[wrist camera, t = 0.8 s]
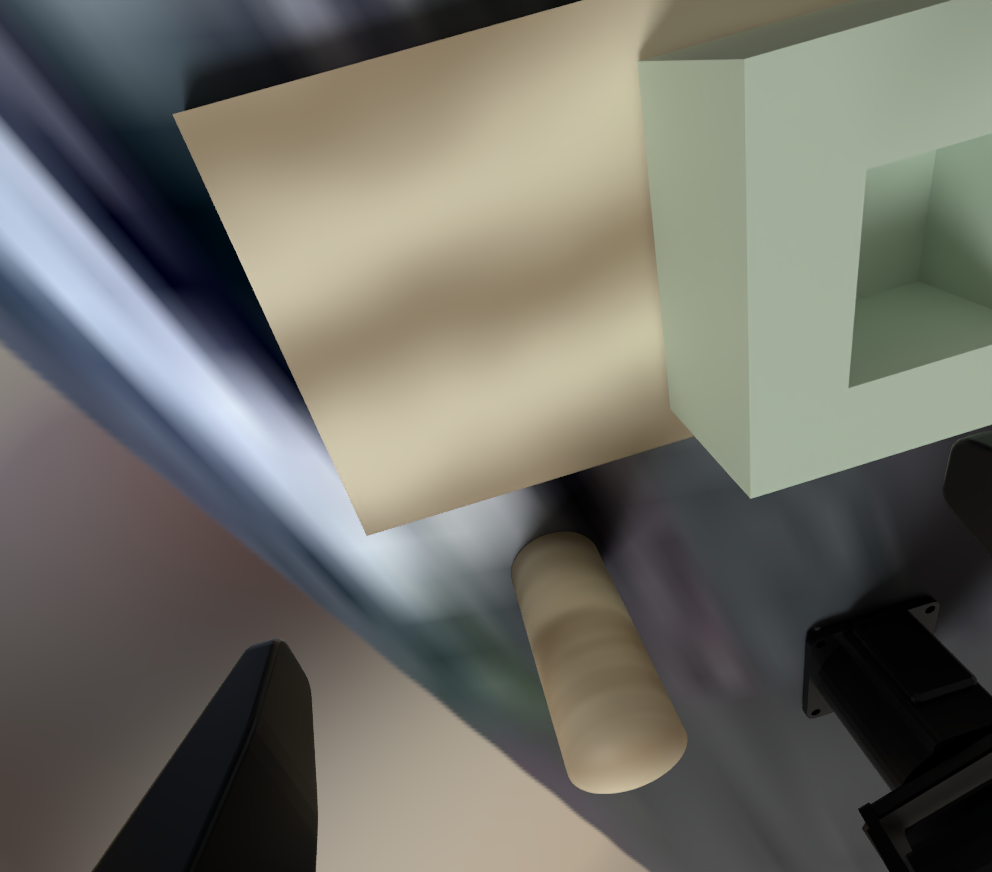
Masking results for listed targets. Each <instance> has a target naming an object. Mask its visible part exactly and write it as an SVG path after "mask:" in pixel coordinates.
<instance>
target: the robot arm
mask: <svg viewBox="0 0 992 872" xmlns="http://www.w3.org/2000/svg"><path fill="white" fill-rule="evenodd" d="M943 495H944V498H945V501H946V502H947V504H948V506H949V507H950V508H951V510H952V511H953V512H954V513H955V514H956V516H957V517H958V518H959V519H960V520H961V522H962V523H963V524H964V525H965V526H966V528H967V529H968V530H969V531H970V532H971V534H972V535H973V536H974V537H975V538H976V540H977V541H978V542H979V543H980V544H981V545H982V547H983V548H984V549H985V550H986V551H987V553H988V554H989V555H990V556H991V557H992V431H985V432H980V433H977V434H974V435H970V436H967V437H963V438H960V439H958V440H957V441H956V442H955V443H954V444H953V445H952V448H951V451H950V455H949V460H948V464H947V469H946V473H945V478H944V483H943ZM939 609H940V604H939V603H938V602H937V601H936V600H935V599H934V598H933V597H932V596H925V597H922V598H919V599H916V600H913V601H910V602H906V603H903V604H900V605H897V606H894V607H891V608H887V609H884V610H881V611H878V612H875V613H872V614H869V615H865V616H862V617H859V618H856V619H853V620H850V621H846V622H843V623H840V624H837V625H834V626H831V627H827V628H824V629H821V630H818V631H815V632H813V633H812V634H810V635H809V636H808V638H807V640H806V653H805V671H804V689H803V707H802V709H803V711H804V713H805V714H806V716H807V717H808V718H817V717H820V716H823V715H826V714H829V713H832V712H834V713H835V714H836V715H837V717H838V718H839V719H840V721H841V722H842V724H843V725H844V726H845V728H846V729H847V730H848V732H849V733H850V735H851V736H852V737H853V739H854V740H855V741H856V743H857V744H858V746H859V747H860V748H861V750H862V751H863V752H864V754H865V755H866V756H867V758H868V759H869V761H870V762H871V763H872V765H873V766H874V767H875V769H876V770H877V772H878V773H879V774H880V776H881V777H882V778H883V780H884V781H885V783H886V784H887V785H888V787H889V788H890V789H891V791H892V792H890V793H888V794H887V795H885V796H883V797H882V798H880V799H879V800H877V801H875V802H874V803H872V804H870V803H867V804H865V805H864V806H862V807H860V808H859V809H858V810H859V812H860V814H861V815H862V817H863V819H864V821H865V824H864V826H863V828H862V829H863V831H864V832H865V834H866V835H867V837H868V838H869V840H870V841H871V843H872V845H873V846H874V848H875V849H876V851H877V852H878V854H879V855H880V857H881V859H882V860H883V862H884V863H885V865H886V867H887V869H888V870H889V872H992V696H991V695H990V694H989V693H988V692H987V691H986V690H985V689H984V688H983V687H982V686H981V685H980V684H979V683H978V682H977V679H976V677H975V676H974V675H973V674H972V673H971V672H970V671H969V670H968V669H967V668H966V667H965V666H964V665H963V664H962V663H961V662H960V661H959V660H958V659H957V658H956V657H955V656H954V655H953V654H952V653H951V652H950V651H949V650H948V649H947V648H946V647H945V646H944V645H943V644H942V643H941V642H940V641H939V640H938V639H937V638H936V637H935V636H934V632H935V627H936V623H937V618H938V614H939ZM317 830H318V805H317V783H316V767H315V749H314V732H313V714H312V697H311V689H310V685H309V681H308V679H307V677H306V675H305V673H304V671H303V670H302V668H301V666H300V665H299V663H298V661H297V660H296V658H295V656H294V654H293V653H292V651H291V649H290V648H289V646H288V645H287V643H286V642H285V641H284V640H282V639H280V638H278V639H277V638H276V639H272V640H269V641H265V642H262V643H258V644H255V645H252V646H250V647H249V648H248V649H246V651H245V652H244V653H243V654H242V656H241V657H240V659H239V660H238V661H237V663H236V664H235V666H234V667H233V669H232V670H231V672H230V673H229V674H228V676H227V677H226V679H225V680H224V682H223V683H222V684H221V686H220V687H219V689H218V690H217V692H216V693H215V695H214V696H213V697H212V699H211V700H210V702H209V703H208V705H207V706H206V707H205V709H204V710H203V712H202V713H201V715H200V716H199V717H198V719H197V720H196V722H195V723H194V725H193V726H192V728H191V729H190V731H189V732H188V733H187V735H186V736H185V738H184V739H183V740H182V742H181V743H180V745H179V746H178V748H177V749H176V751H175V752H174V753H173V755H172V756H171V758H170V759H169V761H168V762H167V764H166V765H165V766H164V768H163V769H162V771H161V772H160V774H159V775H158V777H157V778H156V779H155V781H154V782H153V784H152V785H151V787H150V788H149V789H148V791H147V792H146V794H145V795H144V797H143V798H142V799H141V801H140V802H139V804H138V805H137V807H136V808H135V810H134V811H133V812H132V814H131V815H130V817H129V818H128V820H127V821H126V822H125V824H124V825H123V827H122V828H121V830H120V831H119V832H118V834H117V835H116V837H115V838H114V840H113V841H112V843H111V844H110V845H109V847H108V848H107V850H106V851H105V853H104V854H103V855H102V857H101V858H100V860H99V861H98V863H97V864H96V866H95V867H94V868H93V870H92V871H91V872H316V855H317V832H318V831H317Z"/></svg>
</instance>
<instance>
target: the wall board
mask: <svg viewBox="0 0 992 872" xmlns="http://www.w3.org/2000/svg"><path fill="white" fill-rule="evenodd" d="M849 1H853V0H582V1H578V2H575V3H571V4H568V5H564V6H560V7H557V8H553V9H550V10H546V11H542V12H539V13H535V14H532V15H528V16H525V17H521V18H517V19H514V20H510V21H507V22H503V23H499V24H496V25H492V26H489V27H485V28H481V29H478V30H474V31H471V32H467V33H463V34H460V35H456V36H453V37H449V38H445V39H442V40H438V41H435V42H431V43H428V44H424V45H420V46H417V47H413V48H410V49H406V50H402V51H399V52H395V53H392V54H388V55H384V56H381V57H377V58H374V59H370V60H366V61H363V62H359V63H356V64H352V65H348V66H345V67H341V68H338V69H334V70H330V71H327V72H323V73H320V74H316V75H313V76H309V77H305V78H302V79H298V80H295V81H291V82H287V83H284V84H280V85H277V86H273V87H269V88H266V89H262V90H259V91H255V92H251V93H248V94H244V95H241V96H237V97H233V98H230V99H226V100H223V101H219V102H216V103H212V104H208V105H205V106H201V107H198V108H194V109H190V110H187V111H183V112H180V113H176V114H173V116H174V118H175V121H176V123H177V125H178V127H179V129H180V131H181V134H182V136H183V138H184V140H185V142H186V144H187V147H188V149H189V151H190V153H191V155H192V157H193V160H194V162H195V164H196V166H197V168H198V170H199V173H200V175H201V177H202V179H203V181H204V183H205V186H206V188H207V190H208V192H209V194H210V196H211V199H212V201H213V203H214V205H215V207H216V210H217V212H218V214H219V216H220V218H221V220H222V223H223V225H224V227H225V229H226V231H227V233H228V236H229V238H230V240H231V242H232V244H233V246H234V249H235V251H236V253H237V255H238V257H239V259H240V262H241V264H242V266H243V268H244V270H245V272H246V275H247V277H248V279H249V281H250V283H251V285H252V288H253V290H254V292H255V294H256V296H257V299H258V301H259V303H260V305H261V307H262V309H263V312H264V314H265V316H266V318H267V320H268V322H269V325H270V327H271V329H272V331H273V333H274V335H275V338H276V340H277V342H278V344H279V346H280V348H281V351H282V353H283V355H284V357H285V359H286V361H287V364H288V366H289V368H290V370H291V372H292V374H293V377H294V379H295V381H296V383H297V385H298V387H299V390H300V392H301V394H302V396H303V398H304V401H305V403H306V405H307V407H308V409H309V411H310V414H311V416H312V418H313V420H314V422H315V424H316V427H317V429H318V431H319V433H320V435H321V437H322V440H323V442H324V444H325V446H326V448H327V450H328V453H329V455H330V457H331V459H332V461H333V463H334V466H335V468H336V470H337V472H338V474H339V476H340V479H341V481H342V483H343V485H344V487H345V490H346V492H347V494H348V496H349V498H350V500H351V503H352V505H353V507H354V509H355V511H356V513H357V516H358V518H359V520H360V522H361V524H362V526H363V529H364V531H365V533H366V535H367V536H368V535H371V534H374V533H378V532H381V531H384V530H387V529H391V528H394V527H397V526H401V525H404V524H407V523H410V522H414V521H417V520H420V519H424V518H427V517H430V516H434V515H437V514H440V513H443V512H447V511H450V510H453V509H457V508H460V507H463V506H466V505H470V504H473V503H476V502H480V501H483V500H486V499H489V498H493V497H496V496H499V495H503V494H506V493H509V492H512V491H516V490H519V489H522V488H526V487H529V486H532V485H535V484H539V483H542V482H545V481H549V480H552V479H555V478H559V477H562V476H565V475H568V474H572V473H575V472H578V471H582V470H585V469H588V468H591V467H595V466H598V465H601V464H605V463H608V462H611V461H614V460H618V459H621V458H624V457H628V456H631V455H634V454H637V453H641V452H644V451H647V450H651V449H654V448H657V447H660V446H664V445H667V444H670V443H674V442H677V441H680V440H684V439H687V438H690V437H693V436H694V435H693V434H692V433H691V432H690V431H689V429H688V428H687V427H686V426H685V425H684V424H683V423H682V422H681V420H680V419H679V418H678V417H677V416H676V415H675V414H674V413H673V412H672V410H671V409H670V401H669V390H668V380H667V369H666V359H665V348H664V337H663V327H662V316H661V306H660V295H659V285H658V274H657V264H656V253H655V242H654V232H653V221H652V211H651V200H650V190H649V179H648V169H647V158H646V147H645V137H644V126H643V116H642V105H641V95H640V84H639V74H638V63H637V61H641V60H644V59H648V58H651V57H655V56H658V55H662V54H665V53H669V52H672V51H676V50H679V49H683V48H687V47H690V46H694V45H697V44H701V43H704V42H708V41H711V40H715V39H718V38H722V37H726V36H729V35H733V34H736V33H740V32H743V31H747V30H750V29H754V28H757V27H761V26H764V25H768V24H772V23H775V22H779V21H782V20H786V19H789V18H793V17H796V16H800V15H803V14H807V13H810V12H814V11H818V10H821V9H825V8H828V7H832V6H835V5H839V4H842V3H846V2H849Z"/></svg>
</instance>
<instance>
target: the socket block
mask: <svg viewBox="0 0 992 872" xmlns="http://www.w3.org/2000/svg"><path fill="white" fill-rule="evenodd" d="M637 63H638V74H639V84H640V95H641V105H642V116H643V126H644V137H645V147H646V158H647V169H648V179H649V190H650V200H651V211H652V221H653V232H654V242H655V253H656V264H657V274H658V285H659V295H660V306H661V316H662V327H663V337H664V348H665V359H666V369H667V380H668V390H669V401H670V409H671V410H672V412H673V413H674V414H675V415H676V416H677V417H678V418H679V419H680V420H681V422H682V423H683V424H684V425H685V426H686V427H687V428H688V429H689V431H690V432H691V433H692V434H693V435H694V436H695V437H696V438H697V439H698V441H699V442H700V443H701V444H702V445H703V446H704V447H705V448H706V449H707V451H708V452H709V453H710V454H711V455H712V456H713V457H714V458H715V460H716V461H717V462H718V463H719V464H720V465H721V466H722V467H723V468H724V470H725V471H726V472H727V473H728V474H729V475H730V476H731V477H732V478H733V480H734V481H735V482H736V483H737V484H738V485H739V486H740V487H741V489H742V490H743V491H744V492H745V493H746V494H747V495H748V496H749V497H750V499H751V498H755V497H758V496H761V495H764V494H768V493H771V492H774V491H777V490H781V489H784V488H787V487H790V486H794V485H797V484H800V483H803V482H807V481H810V480H813V479H816V478H820V477H823V476H826V475H829V474H833V473H836V472H839V471H842V470H845V469H849V468H852V467H855V466H858V465H862V464H865V463H868V462H871V461H875V460H878V459H881V458H884V457H888V456H891V455H894V454H897V453H901V452H904V451H907V450H910V449H914V448H917V447H920V446H923V445H927V444H930V443H933V442H936V441H940V440H943V439H946V438H949V437H952V436H956V435H959V434H962V433H965V432H969V431H972V430H975V429H978V428H982V427H985V426H988V425H991V424H992V0H853V1H849V2H846V3H842V4H839V5H835V6H832V7H828V8H825V9H821V10H818V11H814V12H810V13H807V14H803V15H800V16H796V17H793V18H789V19H786V20H782V21H779V22H775V23H772V24H768V25H764V26H761V27H757V28H754V29H750V30H747V31H743V32H740V33H736V34H733V35H729V36H726V37H722V38H718V39H715V40H711V41H708V42H704V43H701V44H697V45H694V46H690V47H687V48H683V49H679V50H676V51H672V52H669V53H665V54H662V55H658V56H655V57H651V58H648V59H644V60H641V61H637Z"/></svg>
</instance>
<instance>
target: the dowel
mask: <svg viewBox="0 0 992 872" xmlns="http://www.w3.org/2000/svg"><path fill="white" fill-rule="evenodd" d="M511 579H512V583H513V586H514V590H515V593H516V596H517V600H518V603H519V607H520V610H521V614H522V617H523V621H524V624H525V628H526V631H527V635H528V638H529V642H530V645H531V648H532V652H533V655H534V659H535V662H536V666H537V669H538V673H539V676H540V680H541V683H542V687H543V690H544V694H545V697H546V700H547V704H548V707H549V711H550V714H551V718H552V721H553V725H554V728H555V732H556V735H557V739H558V742H559V746H560V749H561V752H562V756H563V759H564V763H565V766H566V770H567V773H568V776H569V778H570V780H571V782H572V783H573V784H574V785H575V786H577V787H578V788H580V789H582V790H585V791H588V792H592V793H598V794H610V793H619V792H624V791H629V790H632V789H635V788H638V787H641V786H643V785H646V784H648V783H650V782H652V781H654V780H656V779H657V778H659V777H661V776H662V775H664V774H665V773H666V772H668V771H669V770H670V769H671V768H672V767H673V766H674V765H675V764H676V763H677V762H678V761H679V760H680V758H681V757H682V755H683V753H684V751H685V749H686V746H687V734H686V731H685V729H684V727H683V725H682V723H681V721H680V719H679V717H678V715H677V713H676V711H675V709H674V707H673V705H672V702H671V700H670V698H669V696H668V694H667V692H666V690H665V688H664V686H663V684H662V682H661V680H660V678H659V676H658V674H657V671H656V669H655V667H654V665H653V663H652V661H651V659H650V657H649V655H648V653H647V651H646V649H645V647H644V645H643V643H642V641H641V638H640V636H639V634H638V632H637V630H636V628H635V626H634V624H633V622H632V620H631V618H630V616H629V614H628V612H627V610H626V607H625V605H624V603H623V601H622V599H621V597H620V595H619V593H618V591H617V589H616V587H615V585H614V583H613V581H612V579H611V577H610V574H609V572H608V570H607V568H606V566H605V564H604V562H603V560H602V558H601V556H600V554H599V552H598V550H597V548H596V546H595V544H594V543H593V542H592V541H591V540H590V539H589V538H587V537H586V536H584V535H581V534H578V533H575V532H567V531H561V532H553V533H549V534H546V535H543V536H540V537H538V538H536V539H535V540H533V541H531V542H530V543H528V544H527V545H526V546H525V547H524V548H523V549H522V550H521V551H520V552H519V553H518V555H517V556H516V558H515V560H514V562H513V564H512V568H511Z"/></svg>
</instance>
